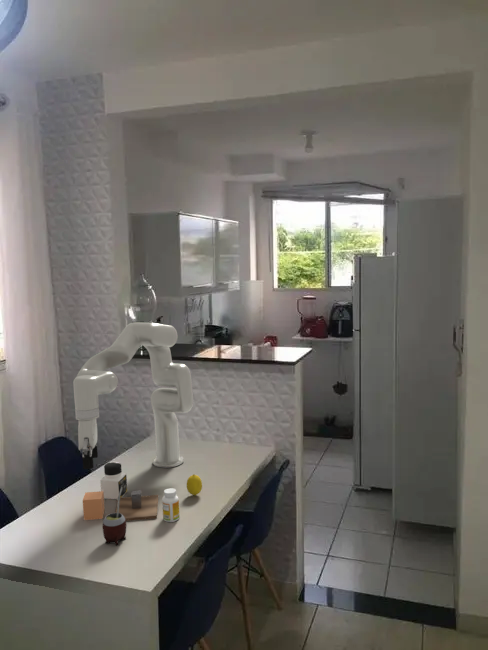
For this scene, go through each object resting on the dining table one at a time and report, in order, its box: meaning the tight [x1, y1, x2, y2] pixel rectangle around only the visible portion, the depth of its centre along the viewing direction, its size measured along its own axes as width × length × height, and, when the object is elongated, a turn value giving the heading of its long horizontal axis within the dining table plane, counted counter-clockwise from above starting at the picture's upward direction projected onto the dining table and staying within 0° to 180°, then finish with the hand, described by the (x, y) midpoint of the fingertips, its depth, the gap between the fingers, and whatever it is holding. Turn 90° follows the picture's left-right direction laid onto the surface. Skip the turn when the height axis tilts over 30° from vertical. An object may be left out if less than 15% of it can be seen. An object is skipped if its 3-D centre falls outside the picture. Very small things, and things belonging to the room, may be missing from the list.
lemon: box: [186, 474, 203, 497], centre depth 202 cm, size 6×6×8 cm
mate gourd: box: [102, 487, 127, 547], centre depth 172 cm, size 8×8×15 cm
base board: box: [114, 494, 159, 522], centre depth 194 cm, size 16×14×1 cm
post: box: [130, 490, 142, 509], centre depth 193 cm, size 3×3×5 cm
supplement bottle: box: [161, 487, 180, 523], centre depth 186 cm, size 5×5×10 cm
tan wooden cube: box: [82, 490, 106, 521], centre depth 190 cm, size 6×6×7 cm
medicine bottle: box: [99, 461, 128, 500], centre depth 205 cm, size 7×7×12 cm
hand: (90, 462), depth 188 cm, fingers open, 9 cm apart
